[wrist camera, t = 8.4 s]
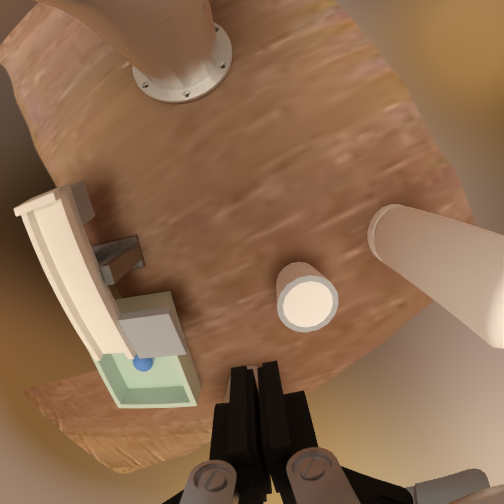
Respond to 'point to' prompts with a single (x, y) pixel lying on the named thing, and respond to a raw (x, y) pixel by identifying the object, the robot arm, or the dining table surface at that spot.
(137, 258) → the lever stand
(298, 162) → the dining table surface
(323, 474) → the robot arm
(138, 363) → the ball
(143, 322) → the lever
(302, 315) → the shot glass
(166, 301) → the bin
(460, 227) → the bottle
